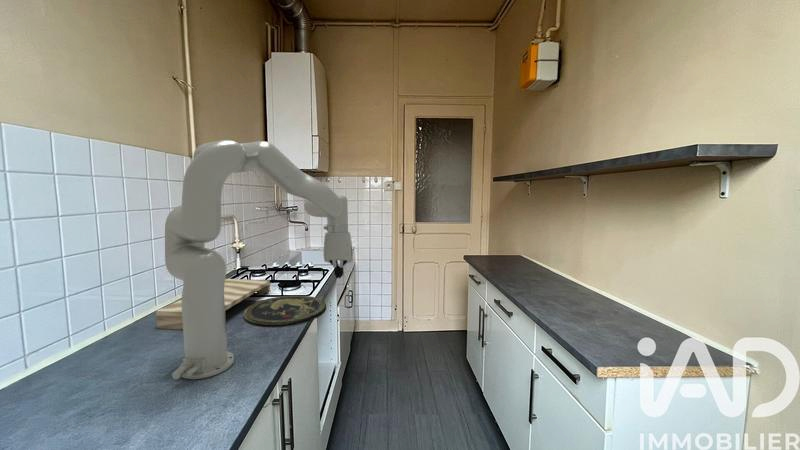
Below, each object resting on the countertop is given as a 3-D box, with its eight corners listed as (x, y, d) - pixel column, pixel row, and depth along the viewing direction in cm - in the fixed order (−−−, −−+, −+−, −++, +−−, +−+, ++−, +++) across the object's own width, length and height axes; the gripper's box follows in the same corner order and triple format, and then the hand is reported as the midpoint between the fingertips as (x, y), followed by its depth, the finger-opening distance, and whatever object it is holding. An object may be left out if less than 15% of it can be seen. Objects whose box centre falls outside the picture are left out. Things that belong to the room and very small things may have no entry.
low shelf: (214, 330, 107) (213, 313, 106) (157, 328, 109) (156, 310, 108) (270, 293, 146) (269, 280, 145) (227, 291, 147) (227, 278, 147)
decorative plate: (309, 325, 109) (225, 320, 112) (309, 330, 109) (225, 325, 112) (335, 296, 138) (268, 293, 141) (335, 300, 139) (268, 297, 141)
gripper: (314, 230, 117) (316, 279, 119) (355, 230, 116) (356, 280, 118) (321, 227, 124) (322, 274, 127) (359, 227, 123) (360, 274, 126)
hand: (339, 277), depth 122 cm, fingers closed
